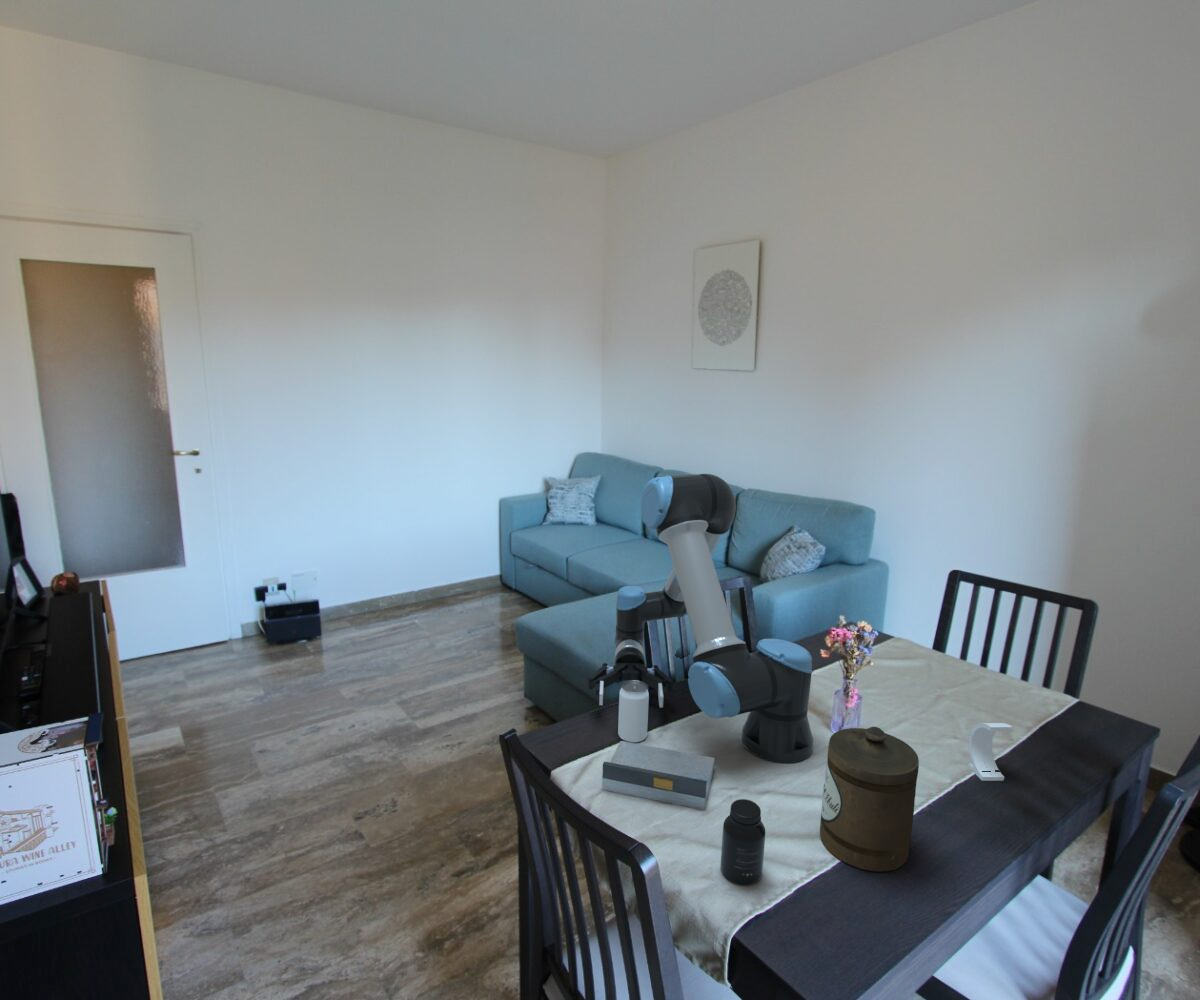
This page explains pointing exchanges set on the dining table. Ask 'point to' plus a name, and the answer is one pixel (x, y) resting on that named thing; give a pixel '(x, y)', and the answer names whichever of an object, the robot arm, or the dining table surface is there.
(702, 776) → the grey tray
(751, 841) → the supplement bottle
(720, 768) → the dining table surface
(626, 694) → the can
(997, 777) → the headphone stand
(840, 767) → the wooden container
